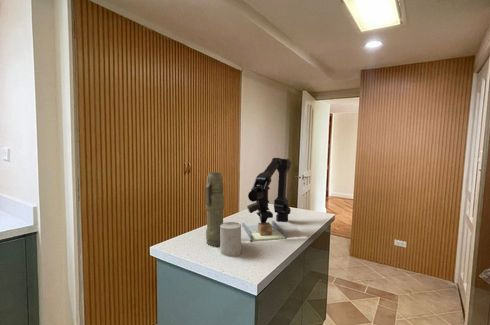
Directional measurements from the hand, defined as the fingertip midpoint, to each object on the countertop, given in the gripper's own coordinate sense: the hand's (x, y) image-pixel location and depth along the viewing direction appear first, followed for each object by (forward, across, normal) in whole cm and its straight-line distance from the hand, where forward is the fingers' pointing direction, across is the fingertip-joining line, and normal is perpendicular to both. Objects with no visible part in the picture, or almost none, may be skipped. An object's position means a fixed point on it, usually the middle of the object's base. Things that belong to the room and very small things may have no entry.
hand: (262, 226), depth 147 cm
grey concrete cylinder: (+4, +22, -21) cm, 31 cm away
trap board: (+4, 0, 0) cm, 4 cm away
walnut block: (+2, +5, 0) cm, 5 cm away
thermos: (+4, +10, -27) cm, 29 cm away
